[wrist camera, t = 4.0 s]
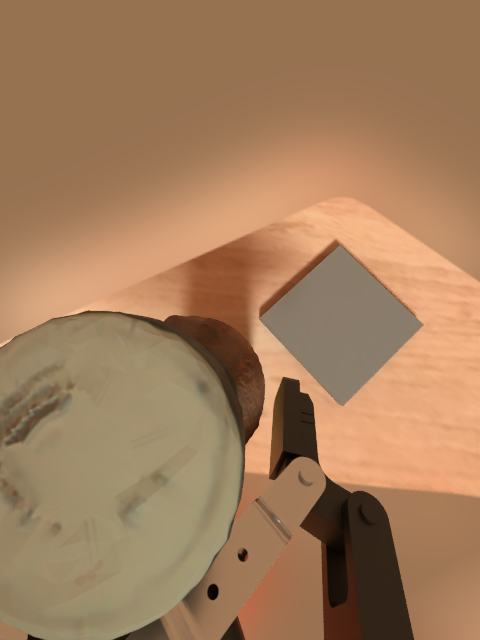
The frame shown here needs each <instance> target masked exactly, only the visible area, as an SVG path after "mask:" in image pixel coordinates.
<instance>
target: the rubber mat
mask: <svg viewBox="0 0 480 640" xmlns="http://www.w3.org/2000/svg"><path fill="white" fill-rule="evenodd" d="M259 320H260V321H261V322H262V323H263V324H264V325H265V326H266V327H267V328H268V329H269V330H270V331H271V332H272V333H273V335H274V336H275V337H276V338H277V339H278V340H279V341H280V342H281V343H282V344H283V345H284V346H285V347H286V348H287V349H288V351H289V352H290V353H291V354H292V355H293V356H294V357H295V358H296V359H297V360H298V361H299V362H300V363H301V364H302V365H303V367H304V368H305V369H306V370H307V371H308V372H309V373H310V374H311V375H312V376H313V377H314V378H315V379H316V380H317V381H318V383H319V384H320V385H321V386H322V387H323V388H324V389H325V390H326V391H327V392H328V393H329V394H330V395H331V396H332V397H333V399H334V400H335V401H336V402H337V403H338V404H340V405H342V406H343V405H344V404H345V403H346V402H347V401H348V400H349V399H350V398H351V397H352V396H353V395H354V394H355V393H356V392H357V391H358V390H359V389H360V388H361V387H362V386H363V385H364V384H365V383H366V382H367V381H368V380H369V379H370V378H371V377H372V376H373V375H374V374H375V373H376V372H377V371H378V370H379V369H380V368H381V367H382V366H383V365H384V364H385V363H386V362H387V361H388V360H389V359H390V358H391V357H392V356H393V355H394V354H395V353H396V352H397V351H398V350H399V349H400V348H401V347H402V346H403V345H404V344H405V343H406V342H407V341H408V340H409V339H410V338H411V337H412V336H413V335H414V334H415V333H416V332H417V331H418V330H419V329H420V328H421V327H422V326H423V324H422V323H421V322H420V321H419V320H418V319H417V318H416V317H415V316H414V315H413V314H412V313H411V312H410V311H409V310H408V309H407V308H406V307H405V306H404V305H403V304H401V303H400V302H399V301H398V300H397V299H396V298H395V297H394V296H393V295H392V294H391V293H390V292H389V291H388V290H387V289H386V288H385V287H384V286H383V285H382V284H381V283H380V282H378V281H377V280H376V279H375V278H374V277H373V276H372V275H371V274H370V273H369V272H368V271H367V270H366V269H365V268H364V267H363V266H362V265H361V264H360V263H359V262H358V261H357V260H355V259H354V258H353V257H352V256H351V255H350V254H349V253H348V252H347V251H346V250H345V249H344V248H343V247H342V246H341V245H339V246H338V247H337V248H336V249H335V250H334V251H333V252H332V253H330V254H329V255H328V256H327V257H326V258H325V259H324V260H323V261H322V262H321V263H319V264H318V265H317V266H316V267H315V268H314V269H313V270H312V271H311V272H310V273H308V274H307V275H306V276H305V277H304V278H303V279H302V280H301V281H300V282H299V283H297V284H296V285H295V286H294V287H293V288H292V289H291V290H290V291H289V292H288V293H286V294H285V295H284V296H283V297H282V298H281V299H280V300H279V301H278V302H277V303H275V304H274V305H273V306H272V307H271V308H270V309H269V310H268V311H267V312H265V313H264V314H263V315H262V316H261V317H260V319H259Z"/></svg>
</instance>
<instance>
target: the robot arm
mask: <svg viewBox="0 0 480 640" xmlns="http://www.w3.org/2000/svg"><path fill="white" fill-rule="evenodd" d="M269 479H272V480H275V481H274V482H273V483H272V484H271V485H270V486H269V488H268V489H267V490H266V491H265V492H264V493H263V494H262V495H261V496H260V498H258V499H256V500H254V501H253V502H252V503H251V504H250V505H249V506H248V507H247V509H246V510H245V511H244V512H243V513H242V514H241V515H240V516H239V517H238V518H237V520H236V521H235V522H234V523H233V526H232V530H231V534H230V538H229V540H228V541H227V542H226V544H225V545H224V547H223V548H222V549H221V551H220V552H219V554H218V556H217V557H216V559H215V561H214V562H213V564H212V566H211V567H210V569H209V571H208V572H207V573H206V575H205V576H204V577H203V578H202V580H201V581H200V582H199V583H198V584H197V586H196V587H195V588H194V589H193V590H192V591H191V592H190V593H189V594H188V595H187V596H185V597H184V598H183V599H182V600H181V601H180V602H179V603H178V604H177V605H176V606H175V607H174V608H172V609H171V610H170V611H169V612H167V613H166V614H165V615H163V616H162V617H160V618H158V619H157V620H155V621H153V622H151V623H149V624H148V625H146V626H144V627H142V628H140V629H138V630H135V631H133V632H130V633H128V634H125V635H123V636H120V637H118V638H115V639H113V640H245V637H244V634H243V631H242V628H241V625H240V622H239V619H238V614H239V612H240V611H241V609H242V608H243V607H244V605H245V603H246V602H247V601H248V599H249V598H250V597H251V595H252V594H253V592H254V591H255V590H256V588H257V587H258V585H259V584H260V582H261V581H262V580H263V578H264V577H265V575H266V574H267V572H268V571H269V569H270V568H271V567H272V565H273V564H274V563H275V561H276V560H277V558H278V557H279V555H280V554H281V552H282V551H283V549H284V548H285V547H286V545H287V544H288V542H289V541H290V539H291V537H292V536H293V534H294V533H295V531H296V530H297V529H298V527H299V526H300V527H302V528H303V529H304V530H306V531H307V532H309V533H310V534H312V535H313V536H314V537H316V538H317V539H319V540H320V541H321V549H322V584H323V615H324V616H323V618H324V640H414V637H413V633H412V628H411V623H410V618H409V614H408V609H407V604H406V599H405V595H404V590H403V585H402V580H401V576H400V571H399V566H398V562H397V557H396V552H395V548H394V542H393V538H392V533H391V528H390V523H389V519H388V516H387V513H386V511H385V510H384V507H383V506H382V505H381V503H380V502H379V501H378V500H377V499H376V498H375V497H374V496H372V495H371V494H369V493H367V492H364V491H356V492H354V493H350V492H349V491H347V490H345V489H344V488H342V487H340V486H339V485H337V484H335V483H334V482H332V481H331V480H330V479H329V478H328V477H327V476H326V475H325V473H324V472H323V470H322V469H321V467H320V464H319V461H318V452H317V440H316V429H315V417H314V406H313V403H312V401H311V399H310V397H309V395H308V394H306V393H301V392H300V383H299V380H295V379H291V378H286V377H283V379H282V381H281V384H280V387H279V389H278V392H277V395H276V398H275V402H274V409H273V424H272V440H271V456H270V472H269ZM0 640H44V639H40V638H37V637H33V636H31V635H29V634H27V633H25V632H23V631H21V630H19V629H16V628H14V627H12V626H9V625H7V624H5V623H3V622H1V621H0Z"/></svg>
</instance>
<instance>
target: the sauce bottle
mask: <svg viewBox="0 0 480 640" xmlns="http://www.w3.org/2000/svg"><path fill="white" fill-rule="evenodd" d="M264 395H265V380H264V374H263V372H262V366H261V364H260V362H259V358H258V356H257V354H256V353H255V352H254V350H253V348H252V347H251V346H250V345H249V343H248V342H247V340H246V339H245V338H244V337H243V336H242V335H241V334H240V333H238V332H237V331H236V330H235V329H233V328H232V327H230V326H229V325H226V324H225V323H223V322H220V321H218V320H214V319H210V318H202V317H198V316H191V317H184V316H178V315H172V316H169V317H168V318H167V319H166V320H165V321H164V322H163V321H160V320H157V319H153V318H149V317H144V316H138V315H132V314H125V313H122V312H111V311H89V310H88V311H85V312H82V313H79V314H76V315H70V316H64V317H59V318H53V319H51V320H49V321H47V322H45V323H43V324H41V325H39V326H37V327H35V328H33V329H31V330H29V331H27V332H24V333H22V334H20V335H18V336H16V337H14V338H13V339H12V340H11V341H10V342H9V343H7V344H5V345H4V346H2V347H1V348H0V621H1V622H3V623H5V624H7V625H9V626H12V627H14V628H16V629H19V630H21V631H23V632H25V633H27V634H29V635H31V636H33V637H37V638H40V639H44V640H113V639H115V638H118V637H120V636H123V635H125V634H128V633H130V632H133V631H135V630H138V629H140V628H142V627H144V626H146V625H148V624H149V623H151V622H153V621H155V620H157V619H158V618H160V617H162V616H163V615H165V614H166V613H167V612H169V611H170V610H171V609H172V608H174V607H175V606H176V605H177V604H178V603H179V602H180V601H181V600H182V599H183V598H184V597H185V596H187V595H188V594H189V593H190V592H191V591H192V590H193V589H194V588H195V587H196V586H197V584H198V583H199V582H200V581H201V580H202V578H203V577H204V576H205V575H206V573H207V572H208V571H209V569H210V567H211V566H212V564H213V562H214V561H215V559H216V557H217V556H218V554H219V552H220V551H221V549H222V548H223V547H224V545H225V544H226V542H227V541H228V540H229V538H230V534H231V530H232V526H233V521H234V518H235V515H236V512H237V509H238V506H239V503H240V500H241V495H242V488H243V480H244V469H245V445H246V444H247V442H248V440H249V439H250V438H251V437H252V435H253V433H254V431H255V430H256V429H257V428H258V426H259V420H260V416H261V414H262V410H263V403H264V399H265V398H264Z"/></svg>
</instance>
